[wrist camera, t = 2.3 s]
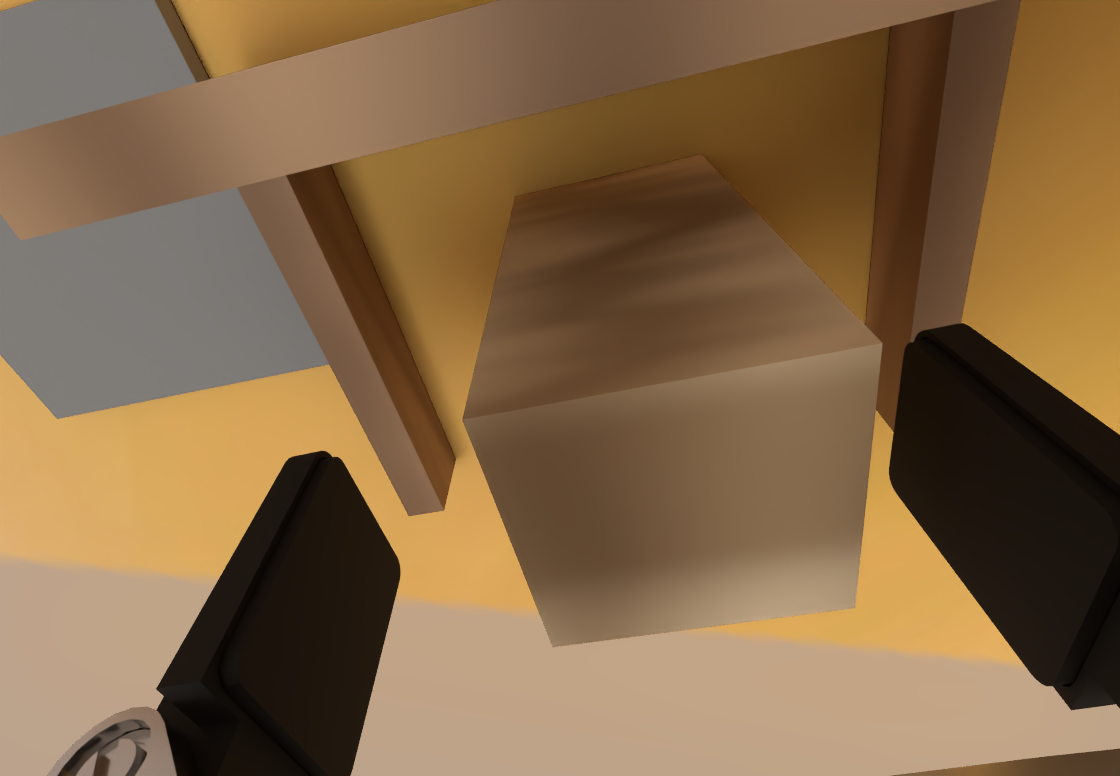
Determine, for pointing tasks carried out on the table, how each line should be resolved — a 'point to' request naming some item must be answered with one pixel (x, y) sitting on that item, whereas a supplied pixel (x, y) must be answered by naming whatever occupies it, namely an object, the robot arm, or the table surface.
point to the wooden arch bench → (504, 94)
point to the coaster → (131, 236)
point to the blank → (671, 410)
